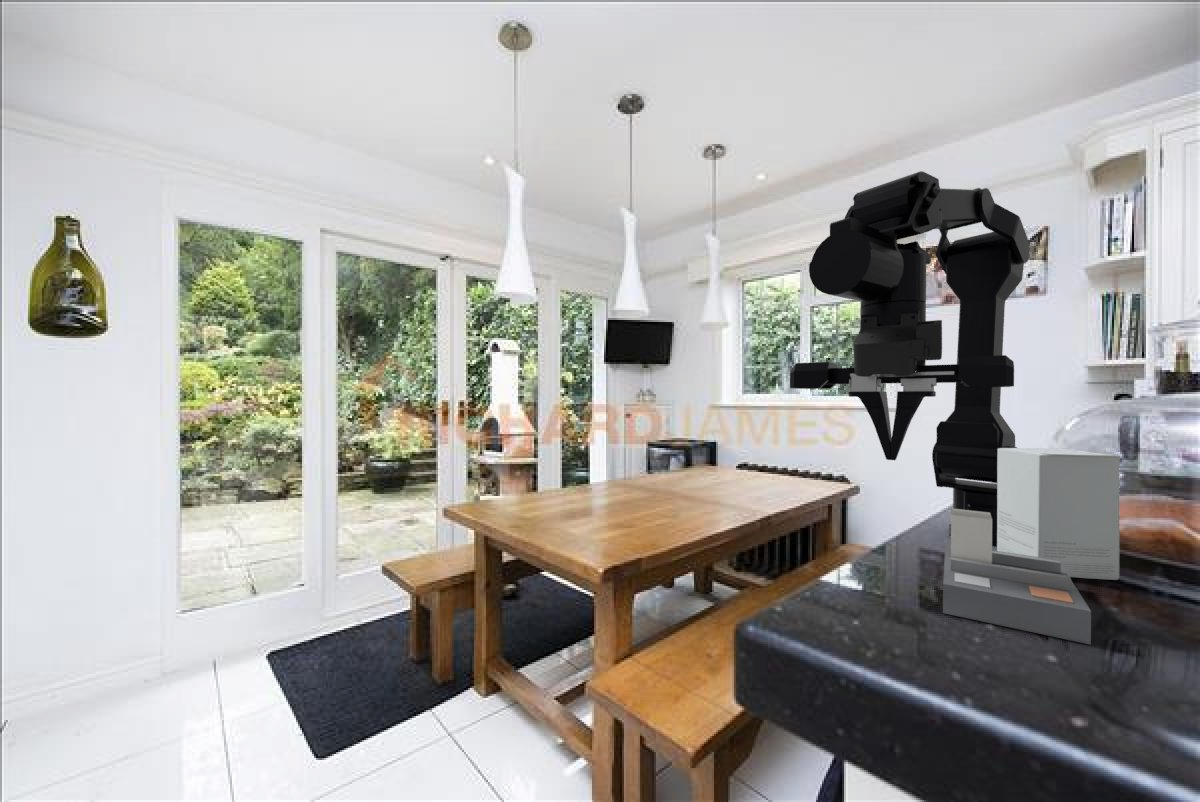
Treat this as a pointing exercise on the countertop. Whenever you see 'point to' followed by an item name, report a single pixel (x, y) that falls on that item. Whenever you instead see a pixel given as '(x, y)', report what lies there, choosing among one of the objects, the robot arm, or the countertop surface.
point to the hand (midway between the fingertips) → (891, 459)
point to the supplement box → (1060, 508)
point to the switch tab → (971, 535)
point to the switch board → (1016, 595)
